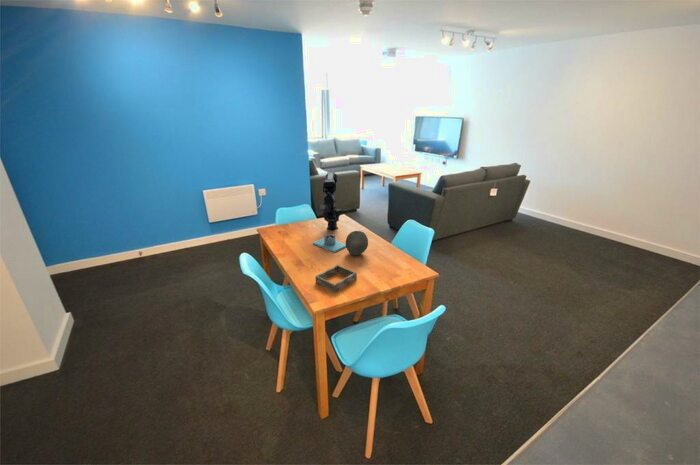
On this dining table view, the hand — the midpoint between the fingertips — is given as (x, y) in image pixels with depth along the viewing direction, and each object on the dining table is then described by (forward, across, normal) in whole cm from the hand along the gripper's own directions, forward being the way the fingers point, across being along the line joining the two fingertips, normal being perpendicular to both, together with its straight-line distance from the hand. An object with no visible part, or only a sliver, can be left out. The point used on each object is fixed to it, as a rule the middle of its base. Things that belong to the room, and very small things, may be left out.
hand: (330, 221), depth 203 cm
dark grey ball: (+12, +30, -8) cm, 33 cm away
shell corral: (+12, +42, -39) cm, 59 cm away
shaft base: (+12, +8, -9) cm, 17 cm away
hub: (+11, +8, -9) cm, 16 cm away
